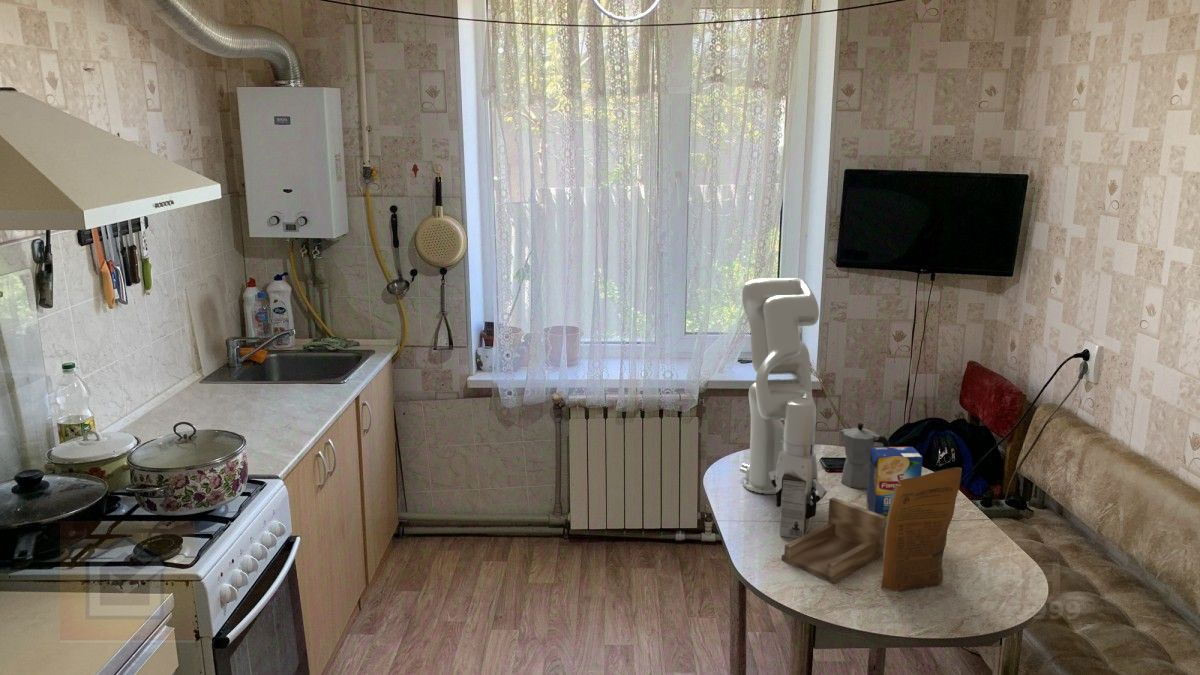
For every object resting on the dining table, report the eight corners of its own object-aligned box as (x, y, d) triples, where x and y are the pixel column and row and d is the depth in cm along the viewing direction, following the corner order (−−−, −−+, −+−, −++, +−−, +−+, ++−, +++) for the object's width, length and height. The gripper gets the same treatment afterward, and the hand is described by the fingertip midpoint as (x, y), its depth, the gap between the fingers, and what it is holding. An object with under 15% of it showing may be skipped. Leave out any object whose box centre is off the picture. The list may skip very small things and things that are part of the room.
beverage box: (916, 538, 226) (923, 456, 220) (872, 539, 225) (878, 457, 220) (906, 526, 232) (913, 446, 227) (864, 527, 232) (869, 447, 227)
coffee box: (785, 521, 236) (788, 464, 232) (810, 525, 233) (813, 467, 229) (779, 536, 227) (781, 477, 223) (804, 540, 225) (807, 480, 221)
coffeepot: (828, 481, 261) (831, 423, 256) (841, 471, 268) (845, 414, 264) (879, 495, 251) (884, 434, 247) (892, 484, 259) (897, 425, 254)
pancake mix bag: (960, 586, 203) (972, 470, 196) (886, 598, 198) (896, 480, 191) (941, 572, 209) (952, 459, 202) (869, 583, 204) (878, 469, 197)
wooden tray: (781, 559, 215) (783, 520, 213) (830, 534, 228) (832, 497, 226) (834, 583, 204) (837, 542, 202) (883, 555, 217) (886, 516, 215)
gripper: (761, 442, 229) (759, 504, 233) (818, 460, 216) (815, 527, 220) (780, 435, 234) (777, 497, 238) (837, 453, 221) (833, 518, 225)
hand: (795, 511), depth 229 cm, fingers closed on coffee box, 8 cm apart
